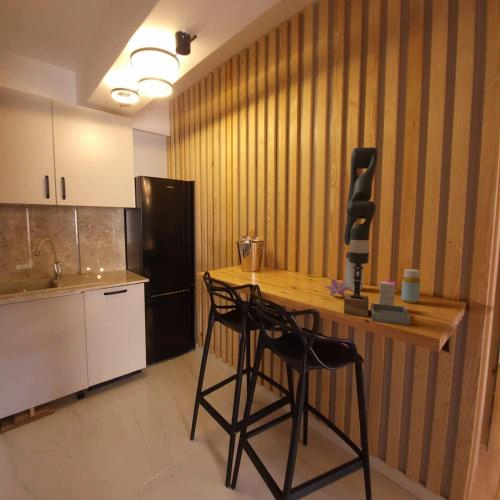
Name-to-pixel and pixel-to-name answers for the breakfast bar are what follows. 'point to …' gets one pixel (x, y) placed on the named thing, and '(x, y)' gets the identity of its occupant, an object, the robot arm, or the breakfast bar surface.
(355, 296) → the pin gauge
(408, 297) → the bottle
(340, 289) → the lily
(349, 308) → the bore block
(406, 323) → the tray
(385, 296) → the supplement box
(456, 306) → the breakfast bar surface
